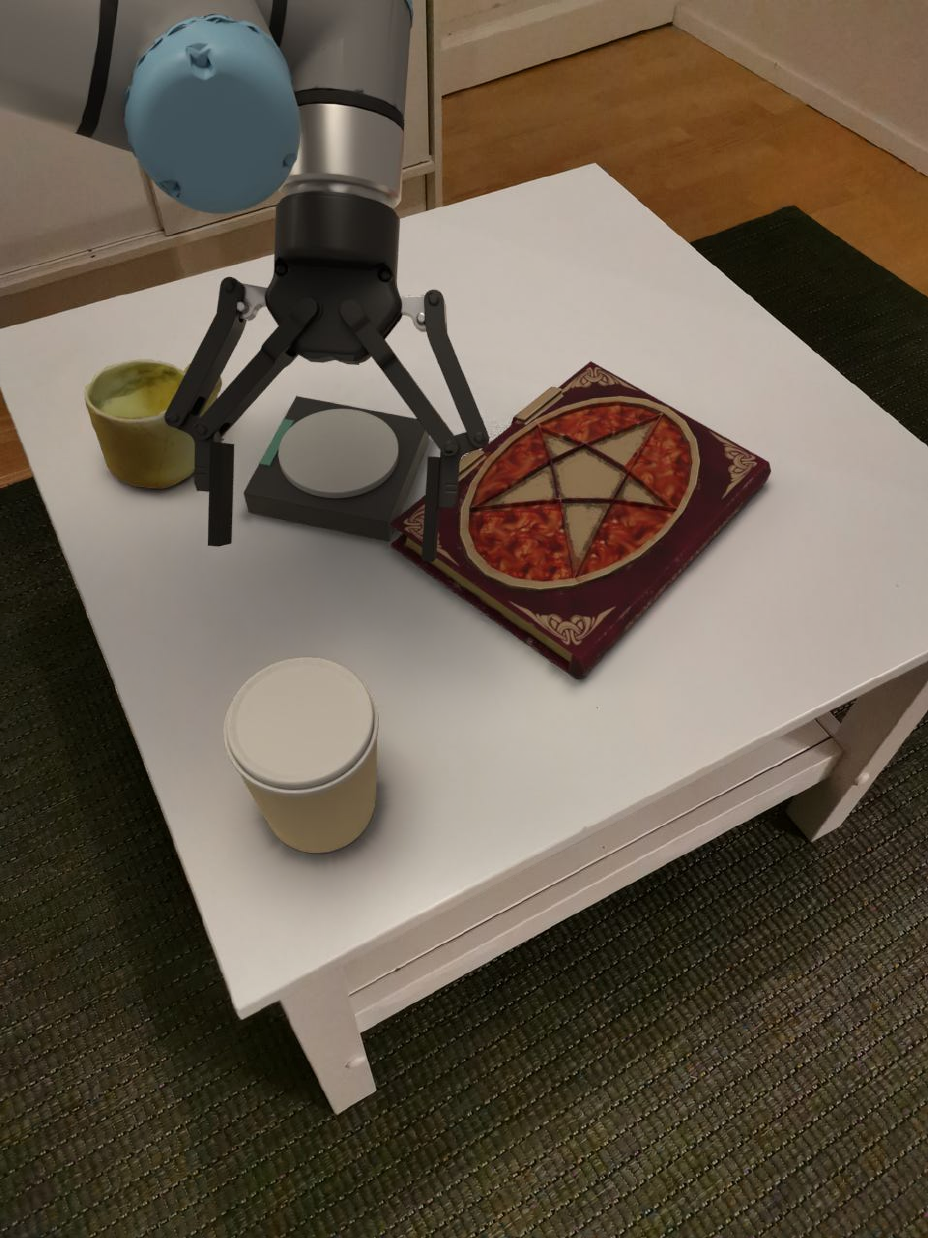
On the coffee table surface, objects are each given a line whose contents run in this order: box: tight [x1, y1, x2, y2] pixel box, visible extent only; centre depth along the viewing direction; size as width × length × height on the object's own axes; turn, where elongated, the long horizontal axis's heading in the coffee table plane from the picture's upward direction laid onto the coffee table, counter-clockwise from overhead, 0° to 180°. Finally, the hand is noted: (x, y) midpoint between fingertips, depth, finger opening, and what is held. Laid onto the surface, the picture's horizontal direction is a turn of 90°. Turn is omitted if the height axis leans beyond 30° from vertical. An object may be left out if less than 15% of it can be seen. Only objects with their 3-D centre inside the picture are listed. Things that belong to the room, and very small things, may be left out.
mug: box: [83, 358, 223, 490], centre depth 82 cm, size 12×10×10 cm
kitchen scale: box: [243, 395, 430, 542], centre depth 82 cm, size 13×13×3 cm
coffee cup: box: [223, 656, 380, 854], centre depth 60 cm, size 9×9×12 cm
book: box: [390, 360, 772, 679], centre depth 80 cm, size 28×21×5 cm
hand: (324, 552), depth 59 cm, fingers open, 13 cm apart
